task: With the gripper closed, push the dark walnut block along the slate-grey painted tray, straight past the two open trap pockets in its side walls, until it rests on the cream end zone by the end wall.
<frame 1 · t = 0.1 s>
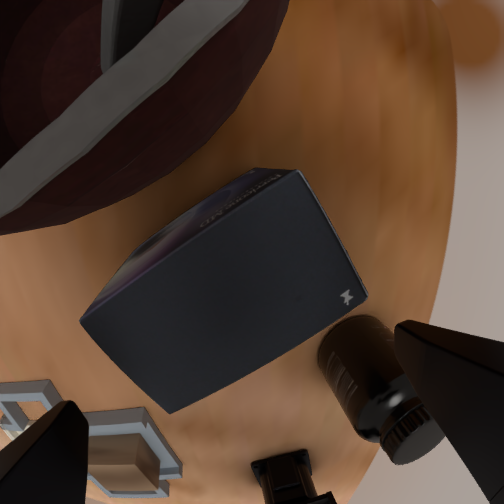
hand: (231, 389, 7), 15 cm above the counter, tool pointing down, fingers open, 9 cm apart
walnut block: (124, 449, 24), point 1 cm above the counter, touching trap tray
small box: (216, 242, 21), on the counter
mate gourd: (147, 82, 17), on the counter
supplement bottle: (352, 346, 25), on the counter
trap tray: (88, 443, 25), on the counter
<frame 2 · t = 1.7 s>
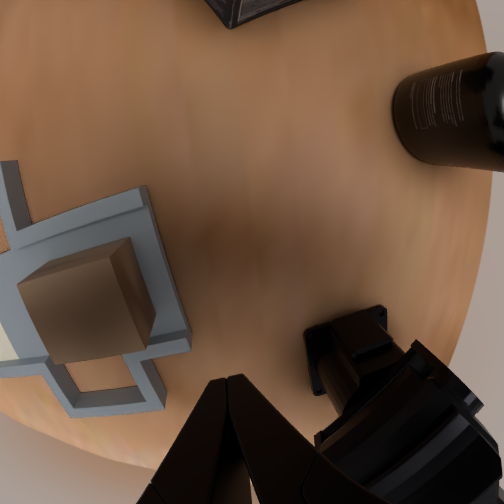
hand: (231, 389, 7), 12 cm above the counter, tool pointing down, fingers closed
walnut block: (99, 287, 17), point 1 cm above the counter, touching trap tray
supplement bottle: (426, 118, 18), on the counter
trap tray: (46, 297, 18), on the counter
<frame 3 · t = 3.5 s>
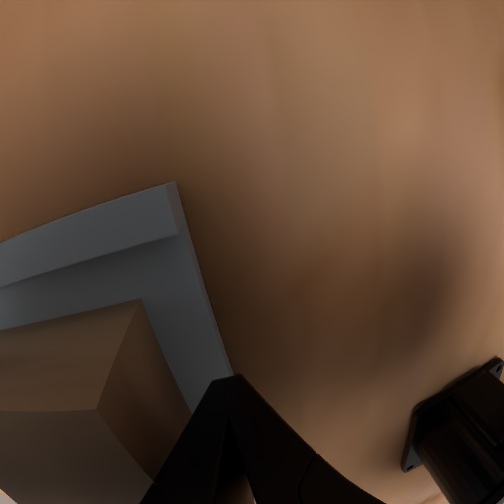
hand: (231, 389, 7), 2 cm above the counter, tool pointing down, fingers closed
walnut block: (86, 387, 8), point 1 cm above the counter, touching gripper, trap tray
trap tray: (5, 378, 9), on the counter
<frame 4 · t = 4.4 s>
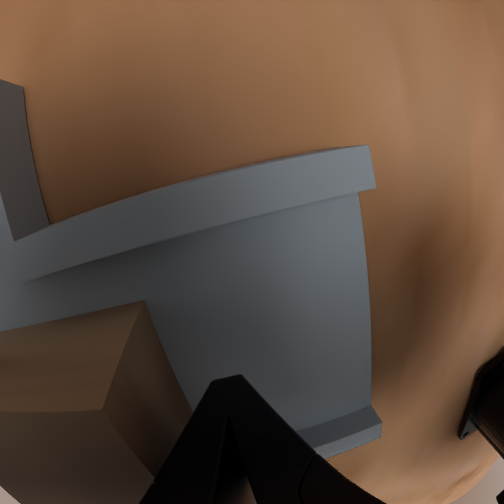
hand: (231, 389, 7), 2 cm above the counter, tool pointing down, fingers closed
walnut block: (89, 387, 8), point 1 cm above the counter, touching gripper
trap tray: (85, 370, 9), on the counter
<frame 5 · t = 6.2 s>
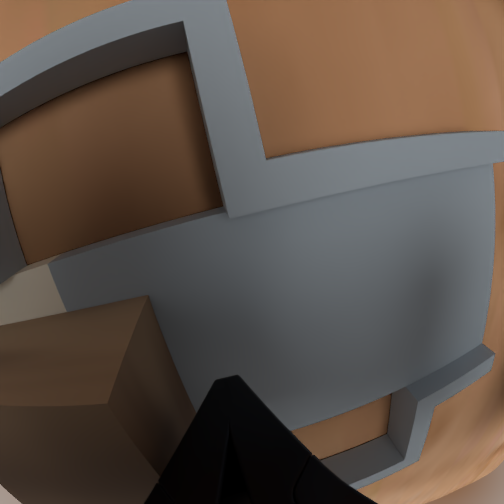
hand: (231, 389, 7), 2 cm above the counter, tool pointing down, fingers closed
walnut block: (90, 383, 8), point 1 cm above the counter, touching gripper, trap tray
trap tray: (255, 332, 9), on the counter
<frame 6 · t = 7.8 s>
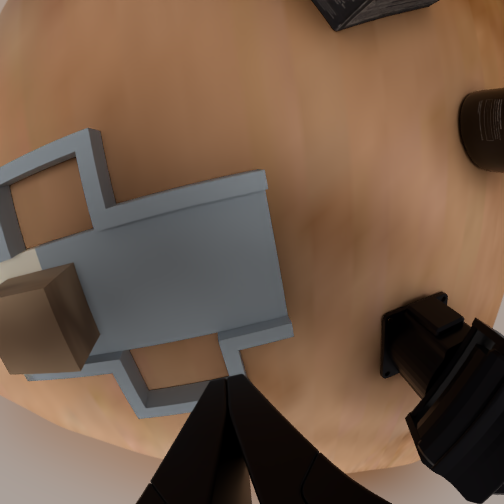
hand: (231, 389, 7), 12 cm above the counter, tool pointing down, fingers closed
walnut block: (50, 306, 17), point 1 cm above the counter, touching trap tray
supplement bottle: (480, 130, 19), on the counter
trap tray: (124, 285, 18), on the counter
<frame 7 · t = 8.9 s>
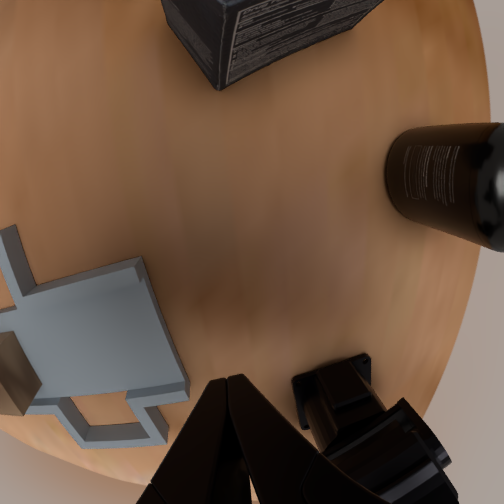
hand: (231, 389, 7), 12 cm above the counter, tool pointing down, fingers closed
walnut block: (4, 360, 17), point 1 cm above the counter, touching trap tray
small box: (262, 18, 15), on the counter
supplement bottle: (419, 174, 19), on the counter
trap tray: (54, 348, 19), on the counter
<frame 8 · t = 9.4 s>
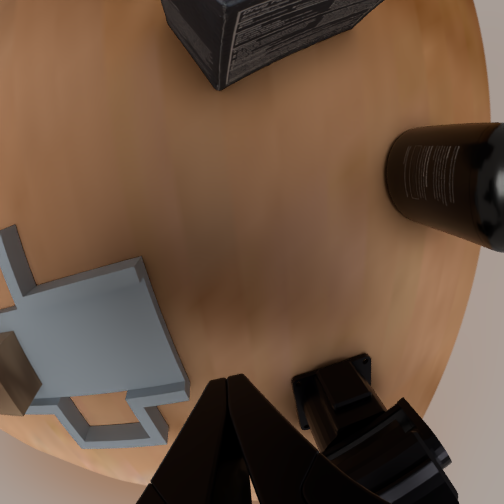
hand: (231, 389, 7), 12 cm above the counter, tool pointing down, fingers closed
walnut block: (4, 360, 17), point 1 cm above the counter, touching trap tray
small box: (262, 18, 15), on the counter
supplement bottle: (419, 174, 19), on the counter
trap tray: (54, 348, 19), on the counter
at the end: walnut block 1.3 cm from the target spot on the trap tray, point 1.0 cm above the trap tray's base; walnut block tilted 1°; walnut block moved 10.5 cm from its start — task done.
